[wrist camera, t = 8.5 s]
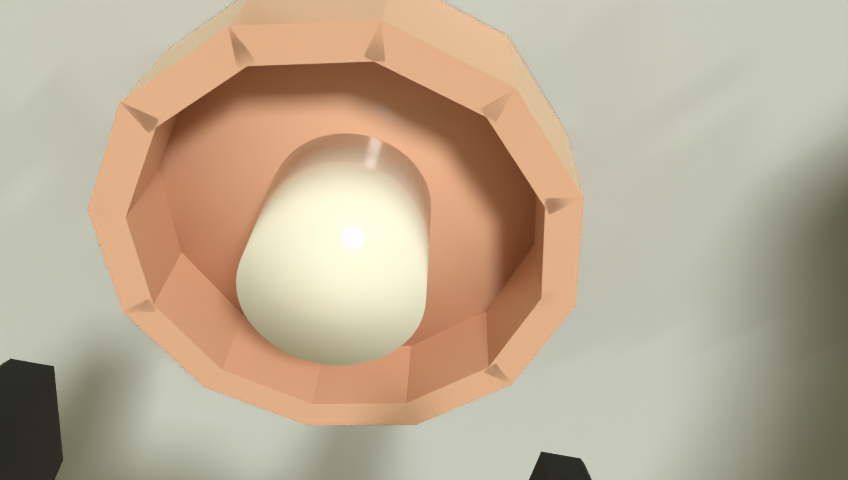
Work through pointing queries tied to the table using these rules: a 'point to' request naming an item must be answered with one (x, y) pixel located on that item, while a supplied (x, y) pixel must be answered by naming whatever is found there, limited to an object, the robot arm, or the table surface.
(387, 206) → the cream round lump
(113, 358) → the table surface
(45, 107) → the table surface
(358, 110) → the bowl
